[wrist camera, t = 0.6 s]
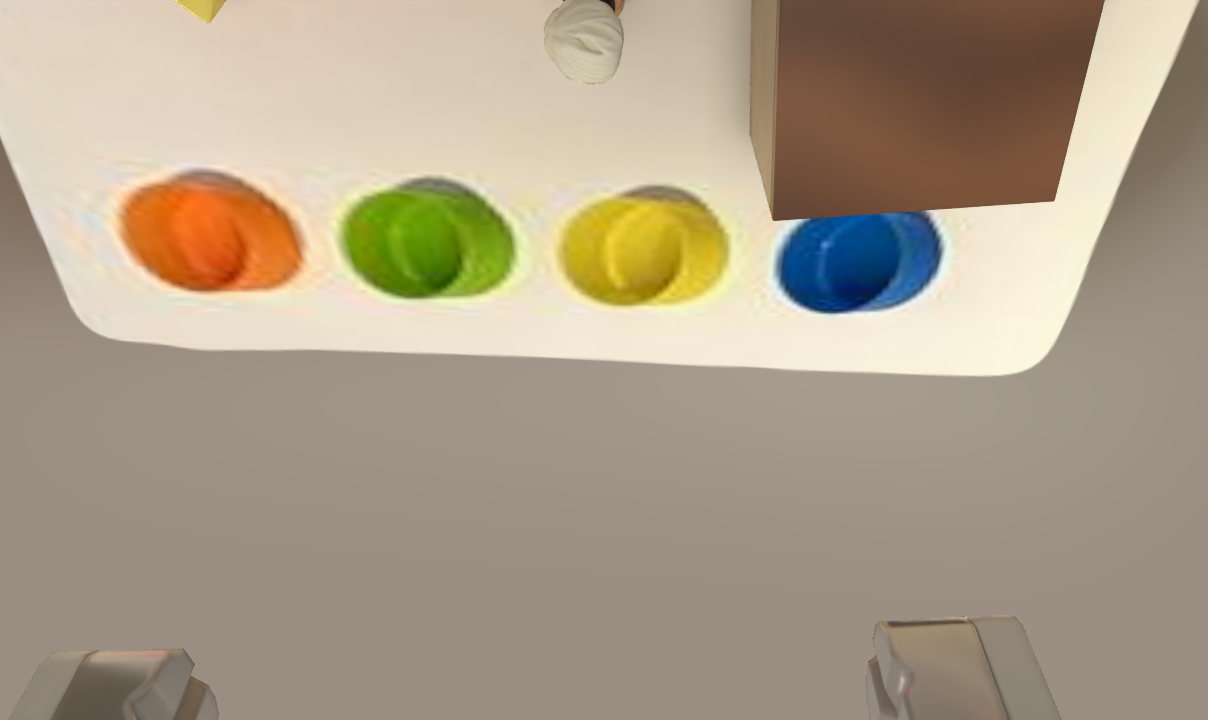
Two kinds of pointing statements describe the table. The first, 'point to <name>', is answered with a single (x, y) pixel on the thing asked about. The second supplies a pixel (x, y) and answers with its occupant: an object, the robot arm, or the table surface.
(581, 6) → the grandmother figurine
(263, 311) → the table surface
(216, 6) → the toy
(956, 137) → the chest lid
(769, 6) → the chest
